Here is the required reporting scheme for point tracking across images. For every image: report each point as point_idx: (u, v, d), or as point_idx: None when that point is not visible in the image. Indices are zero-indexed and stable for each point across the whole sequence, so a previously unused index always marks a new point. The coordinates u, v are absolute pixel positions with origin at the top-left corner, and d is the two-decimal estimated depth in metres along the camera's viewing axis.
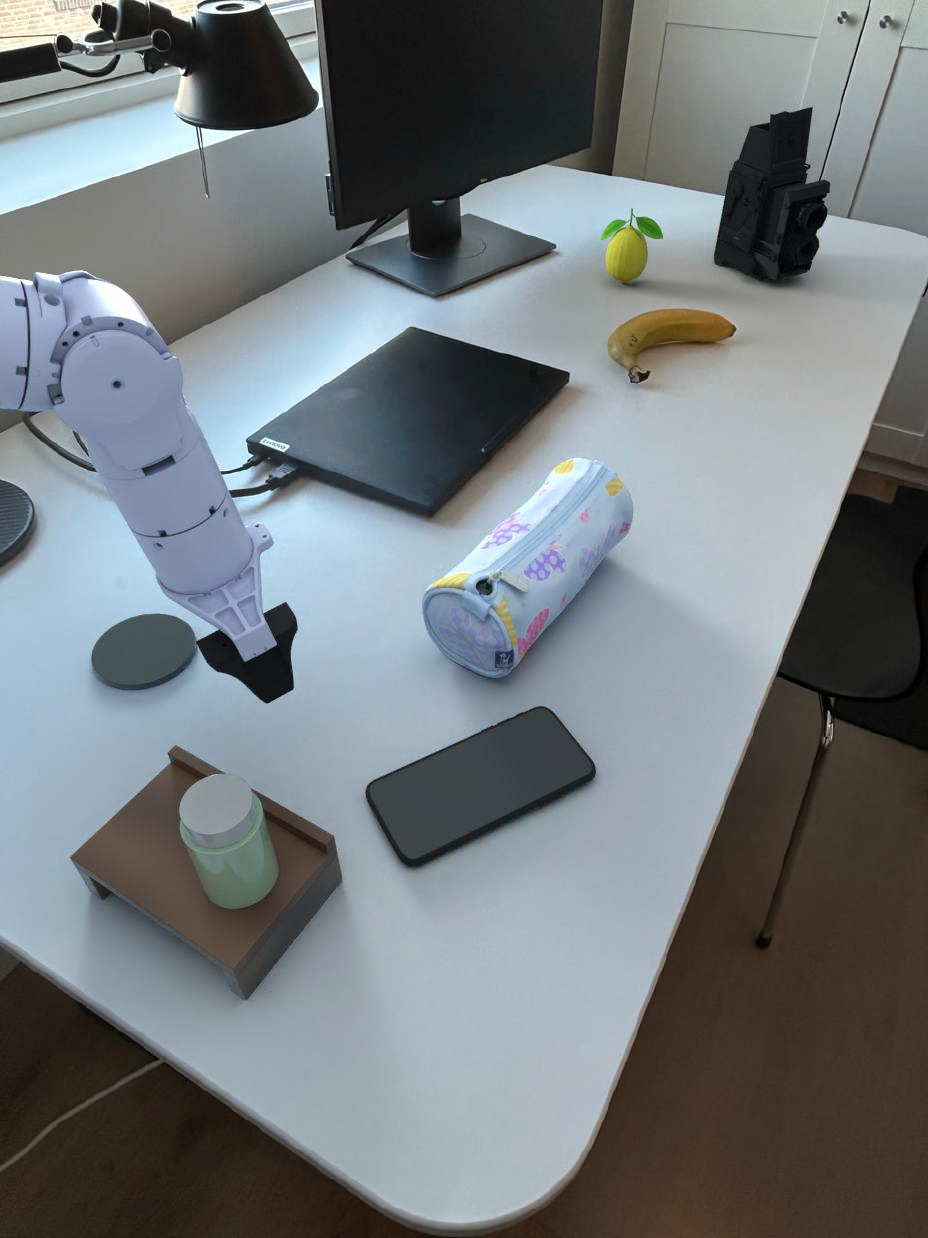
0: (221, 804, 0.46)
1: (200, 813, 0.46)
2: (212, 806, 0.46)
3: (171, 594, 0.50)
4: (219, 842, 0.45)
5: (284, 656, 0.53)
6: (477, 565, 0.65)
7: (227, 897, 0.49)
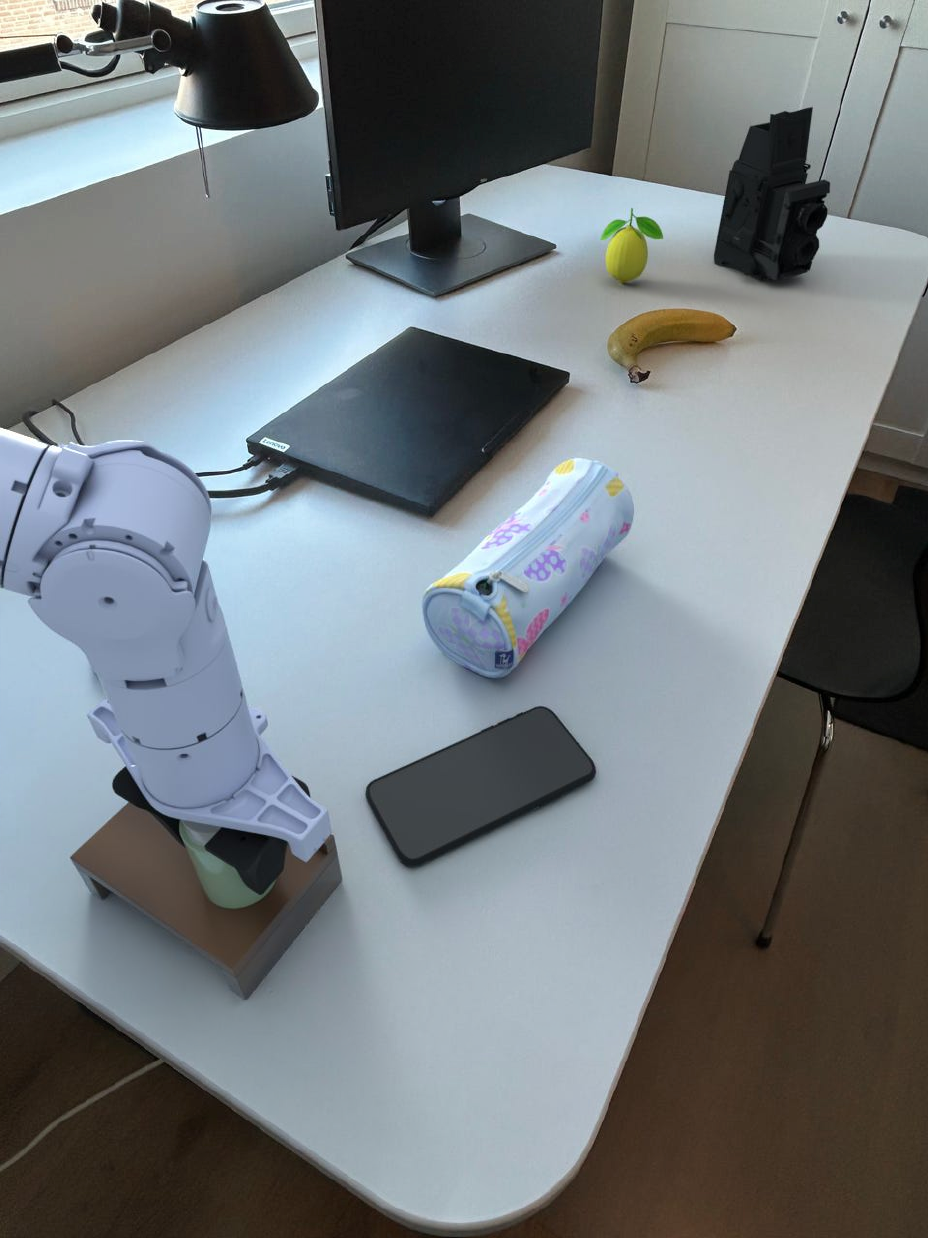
0: None
1: None
2: None
3: (183, 812, 0.41)
4: None
5: None
6: (477, 565, 0.65)
7: (226, 897, 0.49)
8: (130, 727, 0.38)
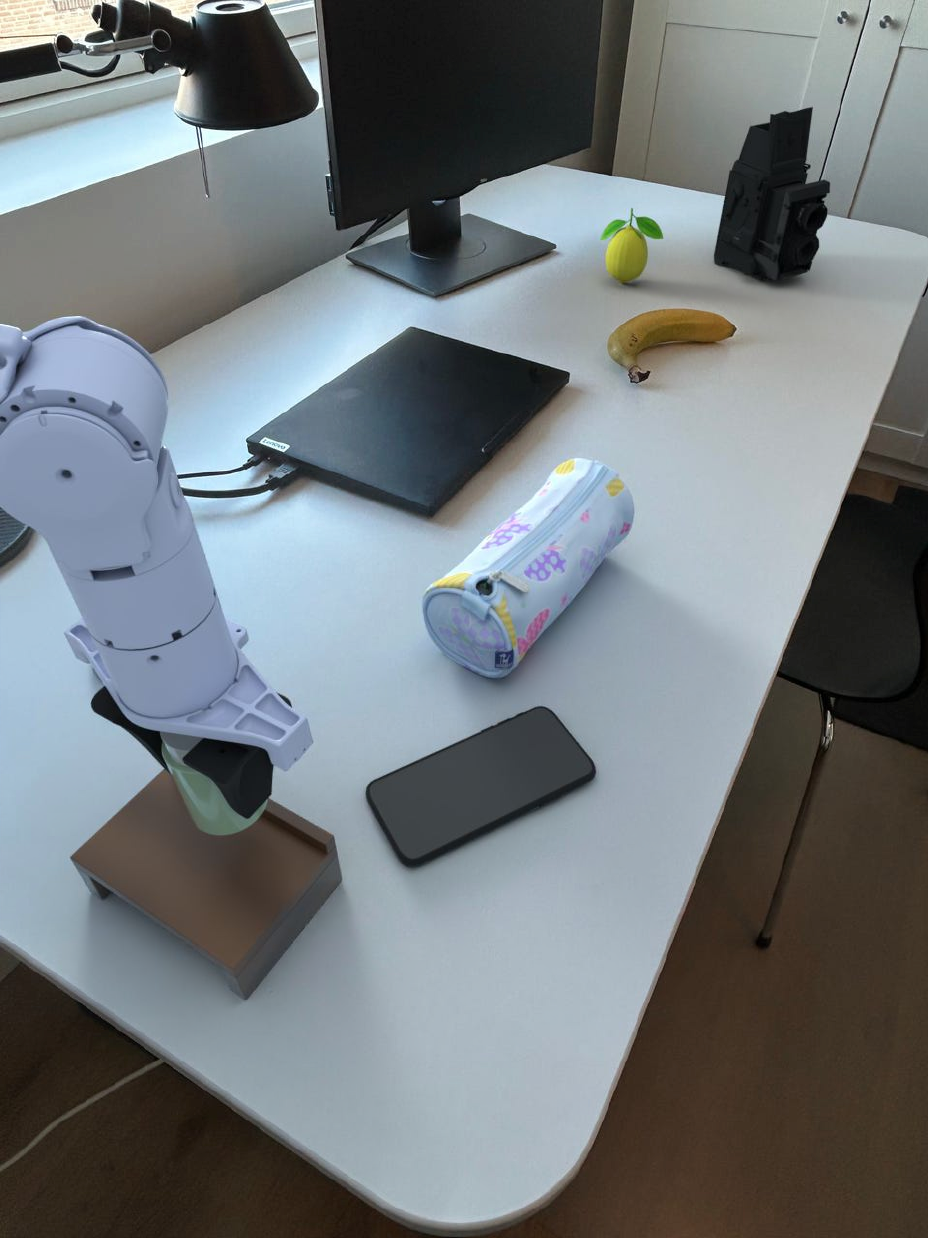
0: None
1: None
2: None
3: (158, 721, 0.40)
4: None
5: None
6: (477, 565, 0.65)
7: (213, 822, 0.47)
8: (101, 628, 0.37)
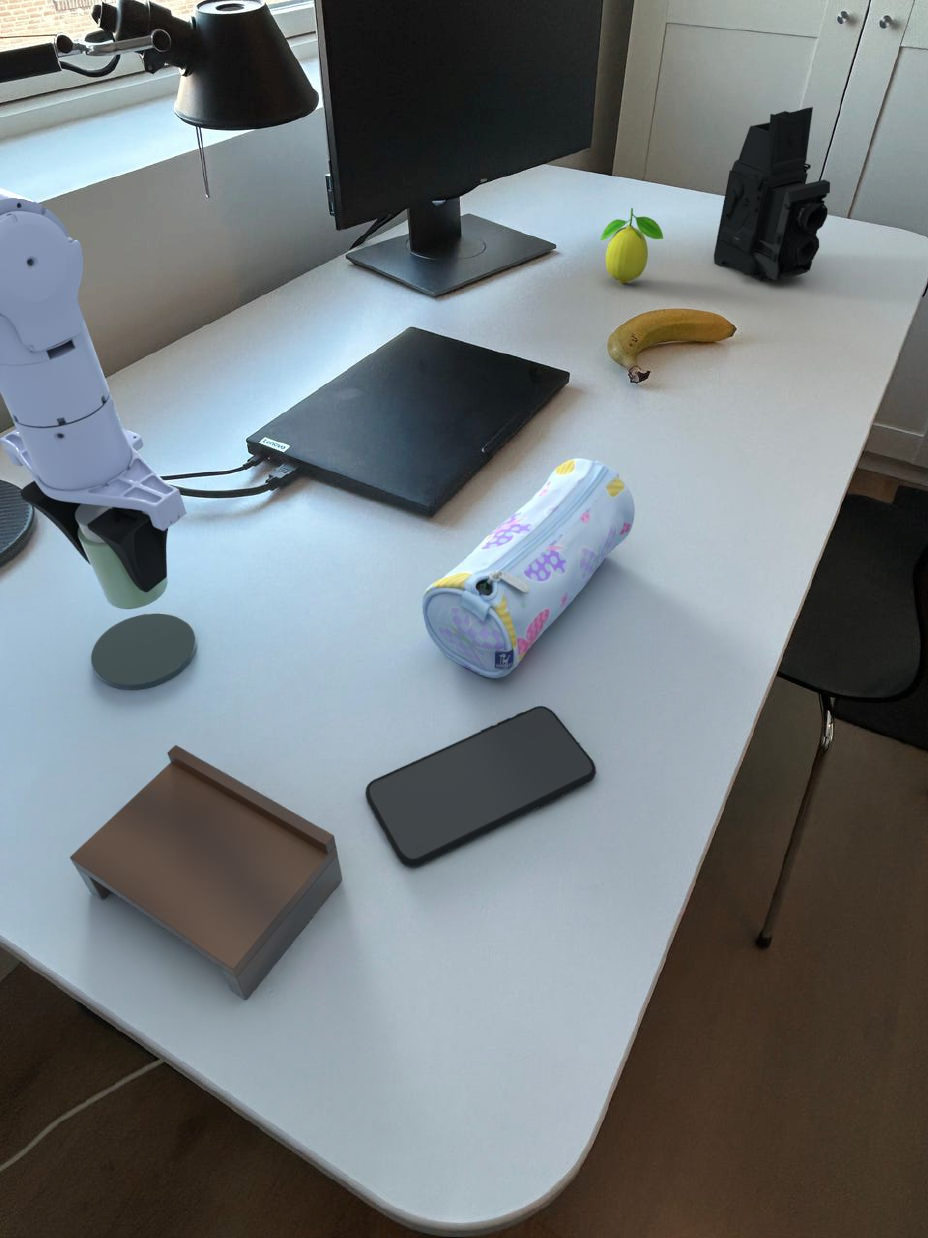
0: None
1: (91, 515, 0.58)
2: (101, 511, 0.58)
3: (67, 492, 0.53)
4: None
5: (163, 535, 0.59)
6: (477, 565, 0.65)
7: (120, 595, 0.61)
8: (54, 408, 0.50)
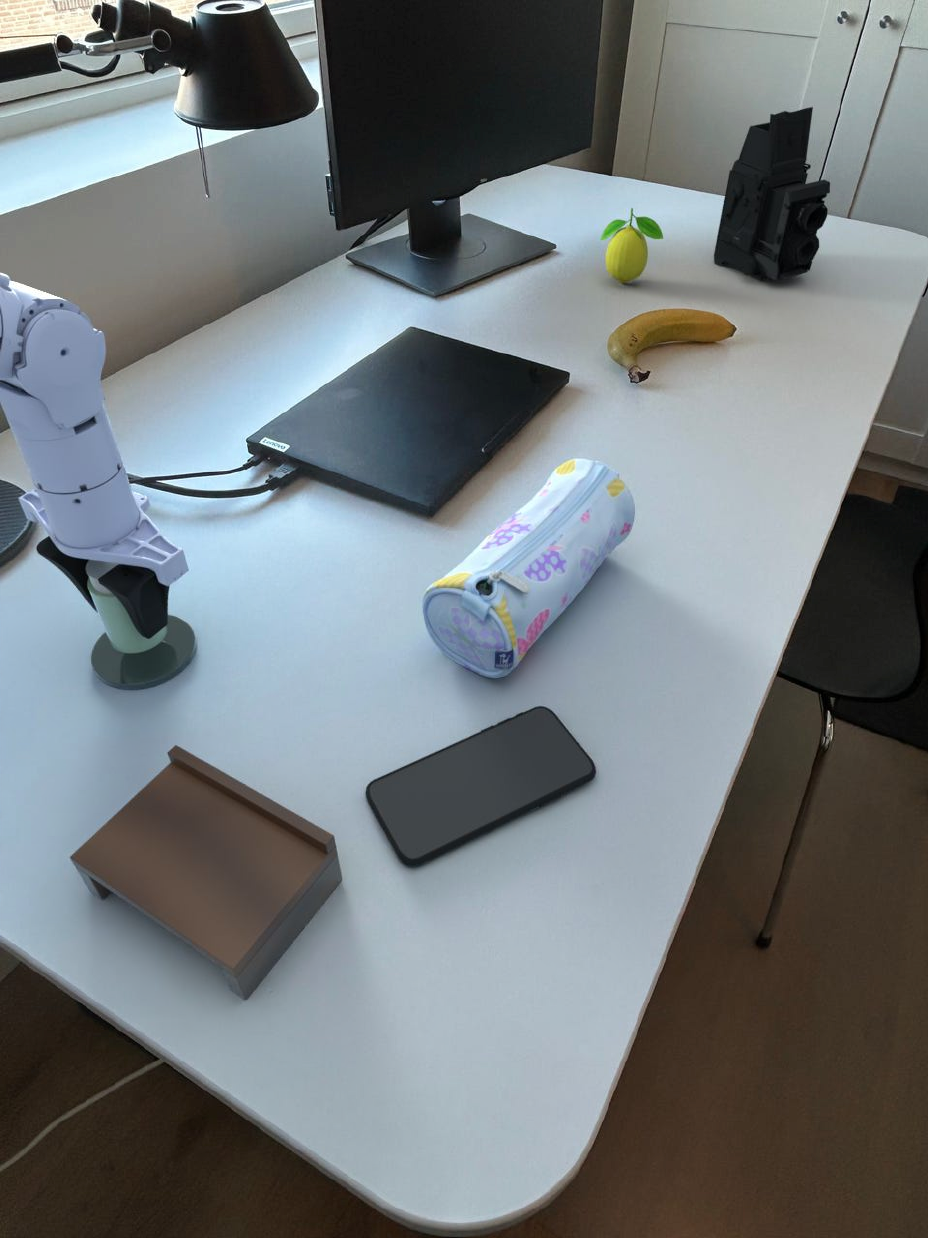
0: (116, 563, 0.64)
1: (100, 568, 0.63)
2: (109, 564, 0.64)
3: (81, 550, 0.59)
4: None
5: (165, 587, 0.64)
6: (477, 565, 0.65)
7: (124, 641, 0.66)
8: (77, 476, 0.55)
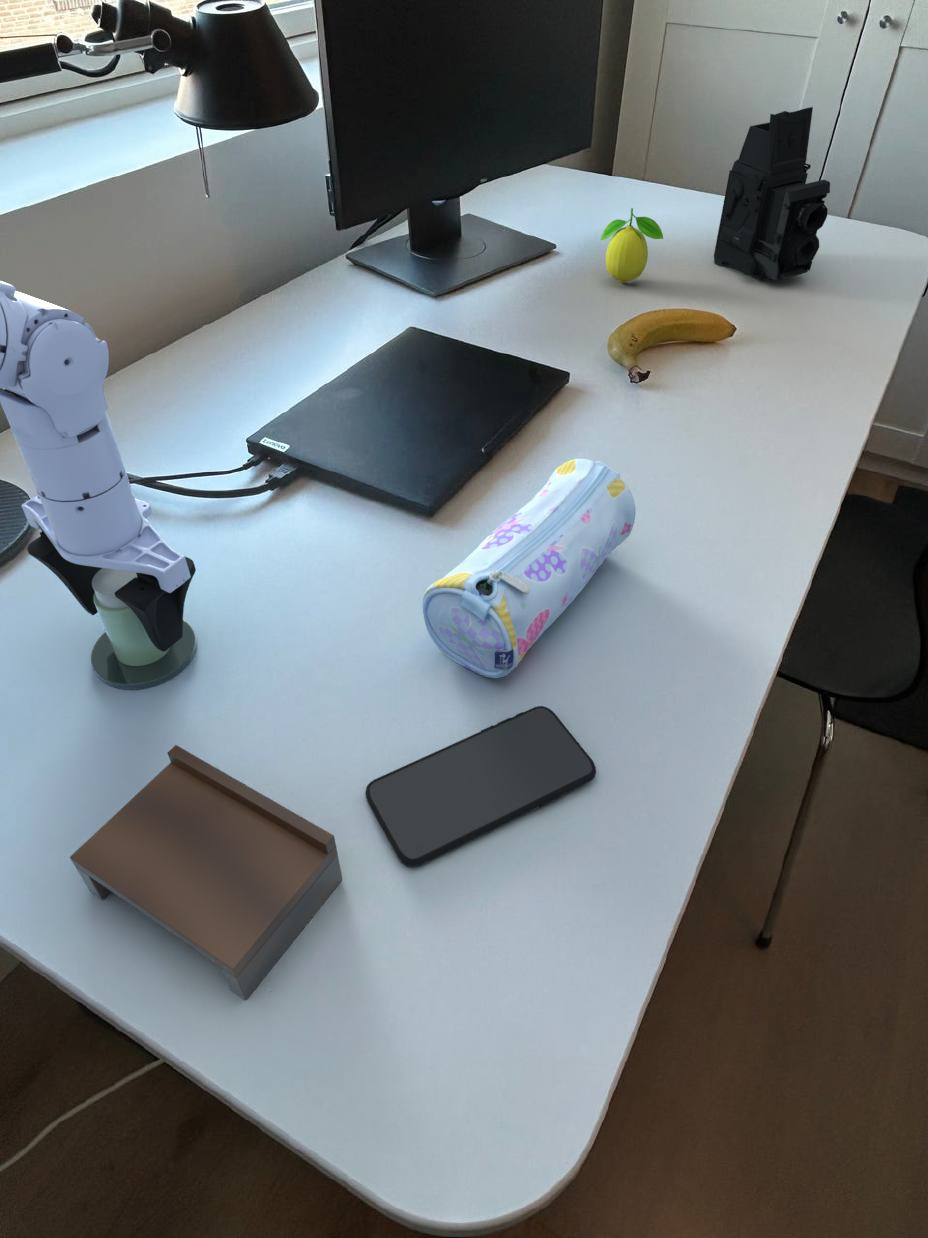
0: (122, 578, 0.65)
1: (106, 583, 0.64)
2: (115, 579, 0.65)
3: (84, 557, 0.59)
4: (120, 602, 0.64)
5: (181, 600, 0.64)
6: (477, 566, 0.65)
7: (130, 654, 0.67)
8: (80, 484, 0.56)
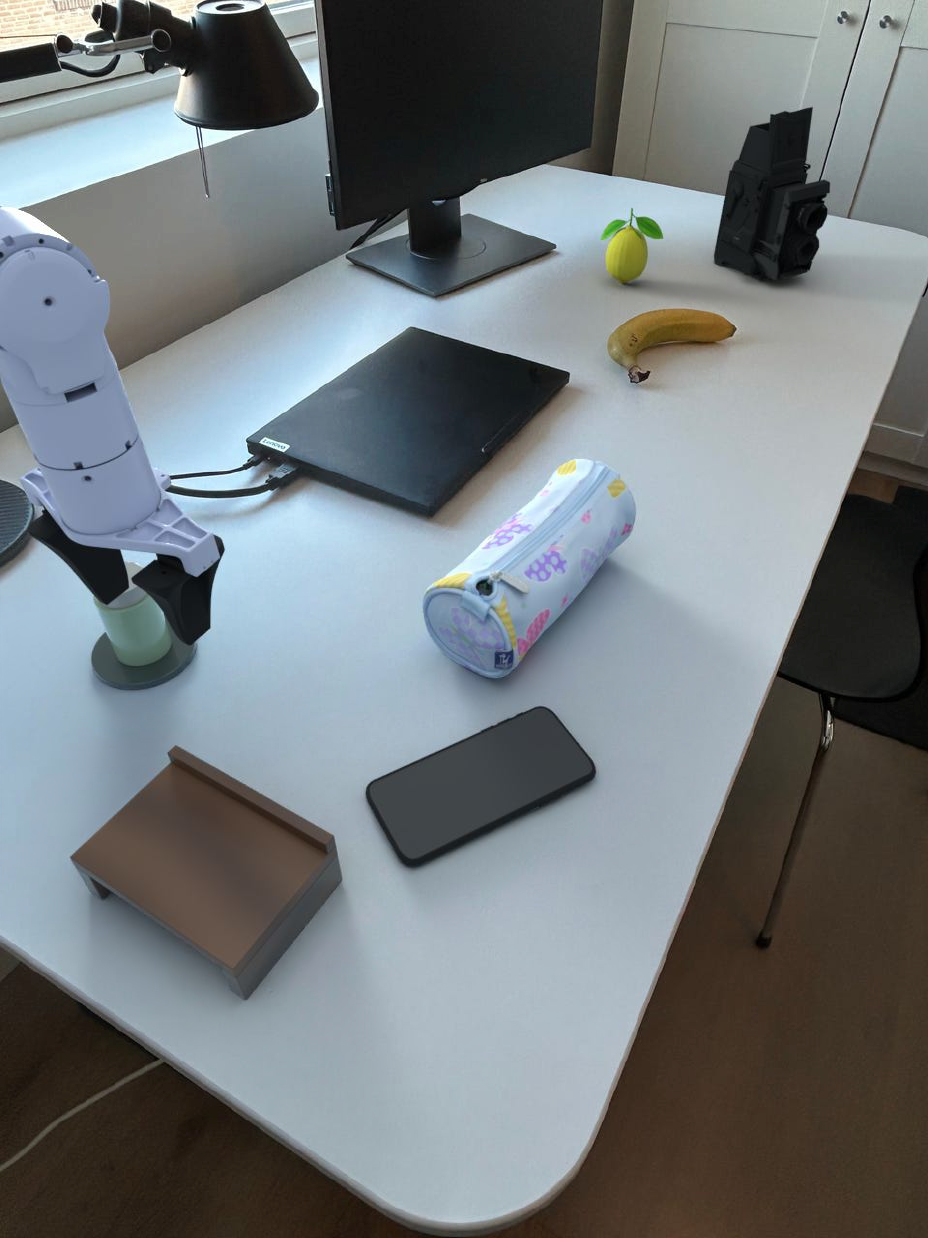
0: None
1: None
2: None
3: (94, 537, 0.50)
4: (120, 602, 0.64)
5: (208, 585, 0.55)
6: (477, 566, 0.65)
7: (130, 654, 0.67)
8: (71, 451, 0.46)
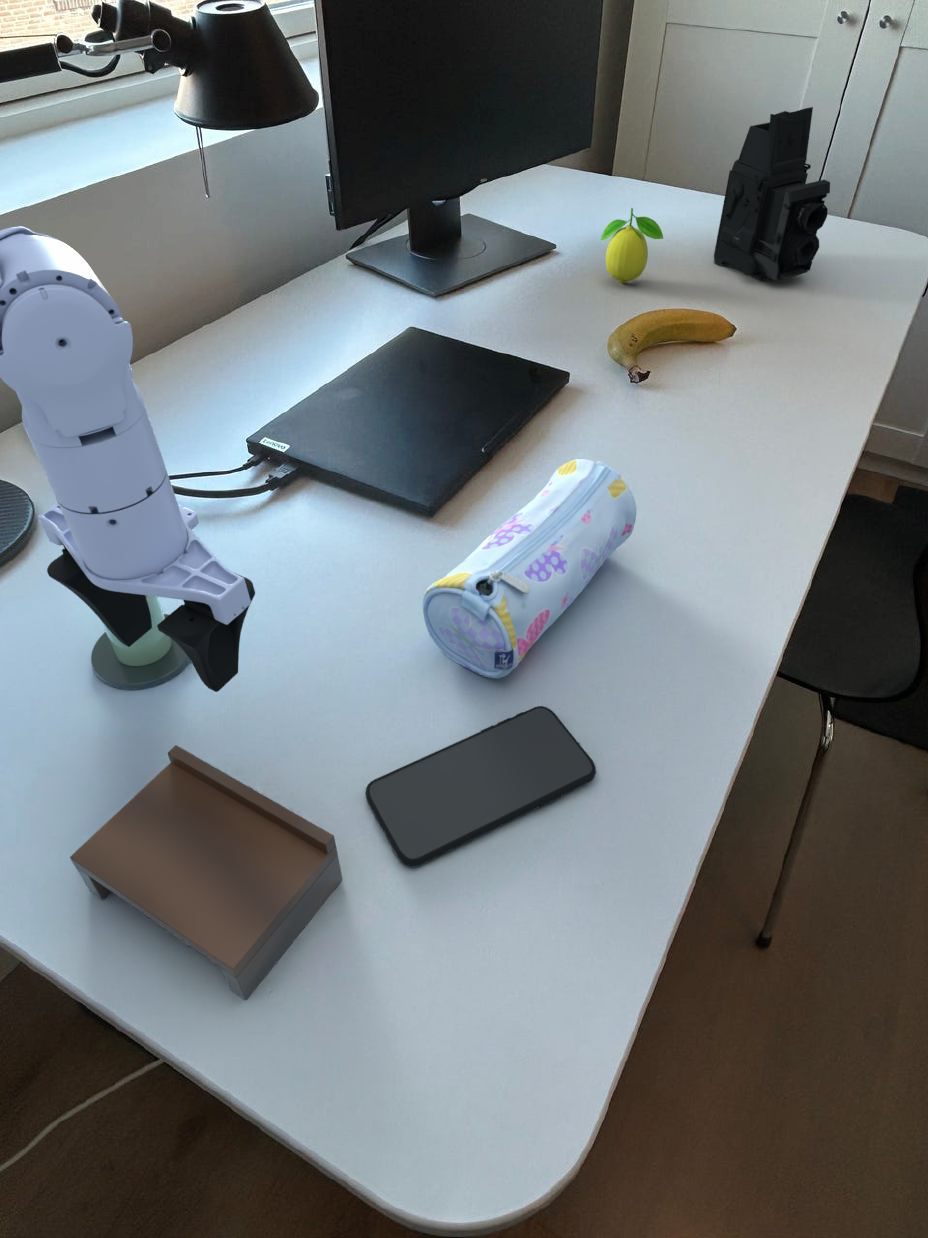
0: None
1: None
2: None
3: (118, 582, 0.47)
4: None
5: (237, 629, 0.52)
6: (477, 566, 0.65)
7: (130, 654, 0.67)
8: (86, 495, 0.43)
